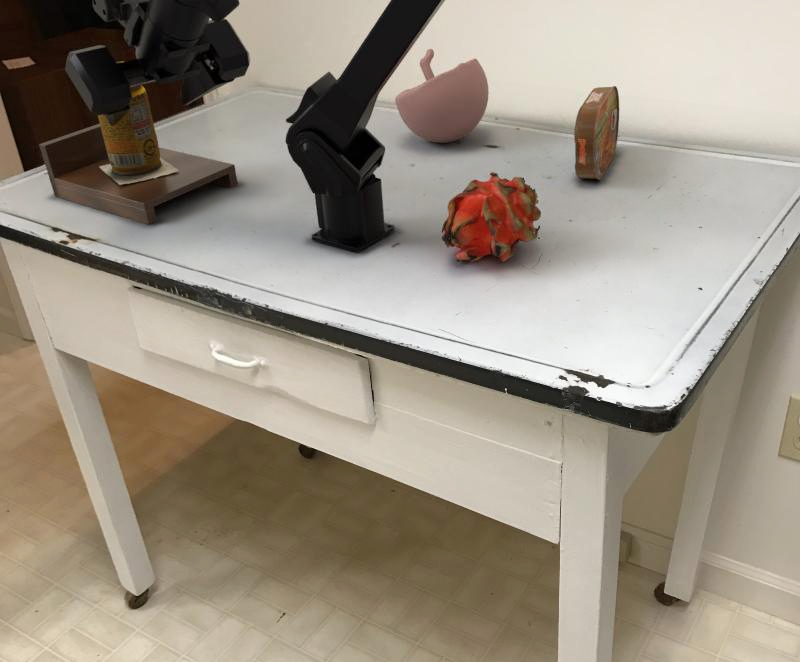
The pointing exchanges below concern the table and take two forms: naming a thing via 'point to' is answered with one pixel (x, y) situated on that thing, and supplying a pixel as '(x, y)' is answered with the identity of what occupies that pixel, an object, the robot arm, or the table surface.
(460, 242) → the dragon fruit
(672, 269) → the table surface
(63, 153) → the shelf
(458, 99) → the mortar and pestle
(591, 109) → the tin
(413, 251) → the table surface
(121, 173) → the condiment
